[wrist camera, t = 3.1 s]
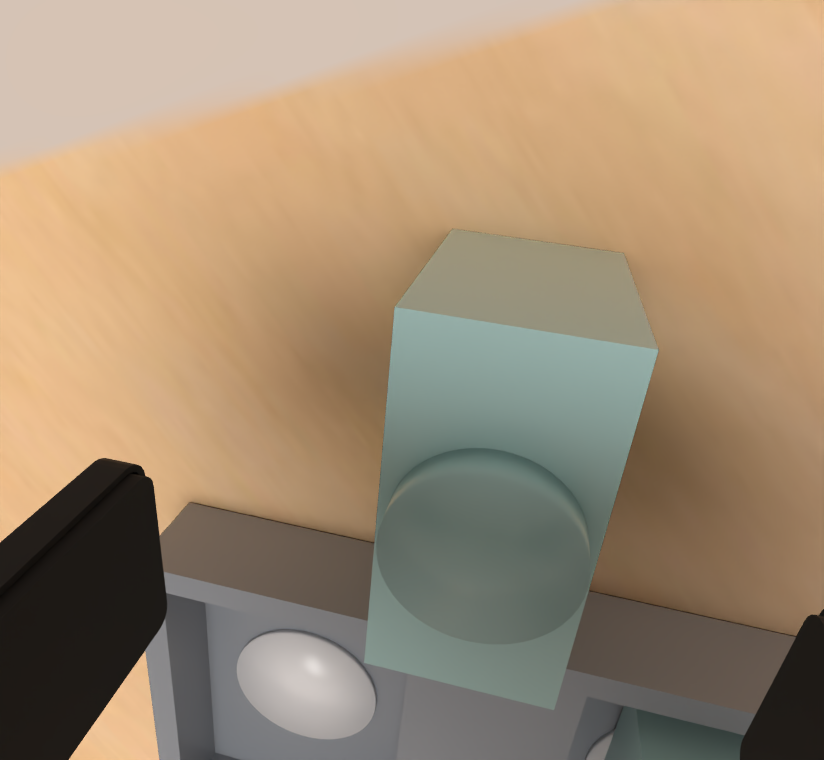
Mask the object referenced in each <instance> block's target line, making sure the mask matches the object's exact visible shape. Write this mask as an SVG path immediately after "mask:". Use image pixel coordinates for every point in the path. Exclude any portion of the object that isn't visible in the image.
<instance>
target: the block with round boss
mask: <svg viewBox="0 0 824 760" xmlns="http://www.w3.org/2000/svg"><path fill="white" fill-rule="evenodd" d="M658 351H659V349H658V347H657V344H656V341H655V338H654V335H653V333H652V330H651V327H650V324H649V322H648V319H647V316H646V313H645V310H644V308H643V305H642V302H641V299H640V297H639V294H638V291H637V288H636V286H635V283H634V280H633V277H632V274H631V272H630V269H629V266H628V263H627V261H626V258H625V255H624V253H620V252H613V251H606V250H599V249H592V248H585V247H578V246H571V245H564V244H557V243H550V242H543V241H536V240H529V239H522V238H514V237H507V236H500V235H493V234H486V233H479V232H472V231H465V230H458V229H452V230H451V231H450V233H449V234H448V235H447V237H446V238H445V240H444V241H443V242H442V244H441V245H440V246H439V248H438V249H437V250H436V252H435V253H434V254H433V256H432V257H431V259H430V260H429V261H428V263H427V264H426V265H425V267H424V268H423V269H422V271H421V272H420V273H419V275H418V276H417V277H416V279H415V280H414V282H413V283H412V284H411V286H410V287H409V288H408V290H407V291H406V292H405V294H404V295H403V296H402V298H401V299H400V301H399V302H398V303H397V305H396V306H395V309H394V321H393V333H392V344H391V356H390V368H389V379H388V391H387V403H386V414H385V426H384V438H383V449H382V461H381V472H380V484H379V496H378V507H377V519H376V531H375V542H374V554H373V566H372V577H371V589H370V600H369V612H368V624H367V635H366V647H365V659H364V663H367V664H371V665H375V666H379V667H383V668H387V669H391V670H395V671H399V672H403V673H407V674H411V675H415V676H419V677H423V678H427V679H431V680H435V681H439V682H443V683H447V684H451V685H455V686H459V687H463V688H467V689H471V690H475V691H479V692H483V693H487V694H491V695H495V696H499V697H503V698H507V699H511V700H515V701H519V702H523V703H527V704H531V705H535V706H539V707H543V708H547V709H551V710H554V709H555V705H556V702H557V699H558V695H559V692H560V688H561V685H562V681H563V678H564V674H565V671H566V668H567V664H568V661H569V657H570V654H571V650H572V647H573V643H574V640H575V637H576V633H577V630H578V626H579V623H580V619H581V616H582V612H583V609H584V606H585V602H586V599H587V595H588V592H589V588H590V585H591V581H592V578H593V575H594V571H595V568H596V564H597V561H598V557H599V554H600V550H601V547H602V544H603V540H604V537H605V533H606V530H607V526H608V523H609V519H610V516H611V513H612V509H613V506H614V502H615V499H616V495H617V492H618V488H619V485H620V482H621V478H622V475H623V471H624V468H625V464H626V461H627V458H628V454H629V451H630V447H631V444H632V440H633V437H634V433H635V430H636V427H637V423H638V420H639V416H640V413H641V409H642V406H643V402H644V399H645V396H646V392H647V389H648V385H649V382H650V378H651V375H652V371H653V368H654V365H655V361H656V358H657V354H658Z"/></svg>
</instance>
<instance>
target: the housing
mask: <svg viewBox="0 0 824 760" xmlns="http://www.w3.org/2000/svg"><path fill="white" fill-rule="evenodd" d="M159 537H160V545H161V554H162V562H163V571H164V579H165V587H166V596H167V613H166V617H165V620H164V622H163V624H162V626H161V628H160V630H159V631H158V633H157V634H156V636H155V637H154V638H153V640H152V641H151V643H150V644H149V646H148V647H147V648H146V650H145V651H146V659H147V667H148V675H149V682H150V690H151V698H152V706H153V713H154V721H155V729H156V736H157V744H158V752H159V760H740V747H741V743H742V740H743V737H744V736H745V734H746V732H747V730H748V728H749V726H750V724H751V722H752V720H753V718H754V716H755V715H756V713H757V711H758V709H759V707H760V705H761V703H762V701H763V699H764V697H765V696H766V694H767V692H768V690H769V688H770V686H771V684H772V682H773V680H774V678H775V676H776V675H777V673H778V671H779V669H780V667H781V665H782V663H783V661H784V659H785V657H786V655H787V654H788V652H789V650H790V648H791V646H792V644H793V642H794V640H795V638H796V637H794V636H789V635H785V634H780V633H776V632H771V631H767V630H762V629H758V628H753V627H749V626H744V625H740V624H735V623H731V622H726V621H722V620H717V619H713V618H708V617H704V616H699V615H695V614H690V613H686V612H681V611H677V610H672V609H667V608H663V607H658V606H654V605H649V604H645V603H640V602H636V601H631V600H627V599H622V598H618V597H613V596H609V595H604V594H600V593H595V592H591V591H589V592H588V595H587V599H586V602H585V606H584V609H583V612H582V616H581V619H580V623H579V626H578V630H577V633H576V637H575V640H574V643H573V647H572V650H571V654H570V657H569V661H568V664H567V668H566V671H565V674H564V678H563V681H562V685H561V688H560V692H559V695H558V699H557V702H556V705H555V709H554V710H551V709H547V708H543V707H539V706H535V705H531V704H527V703H523V702H519V701H515V700H511V699H507V698H503V697H499V696H495V695H491V694H487V693H483V692H479V691H475V690H471V689H467V688H463V687H459V686H455V685H451V684H447V683H443V682H439V681H435V680H431V679H427V678H423V677H419V676H415V675H411V674H407V673H403V672H399V671H395V670H391V669H387V668H383V667H379V666H375V665H371V664H367V663H364V659H365V647H366V635H367V624H368V612H369V600H370V589H371V577H372V566H373V554H374V543H370V542H365V541H361V540H356V539H352V538H347V537H343V536H338V535H334V534H329V533H325V532H320V531H316V530H311V529H307V528H302V527H298V526H293V525H289V524H284V523H280V522H275V521H271V520H266V519H262V518H257V517H253V516H248V515H244V514H239V513H235V512H230V511H226V510H221V509H217V508H212V507H208V506H203V505H199V504H194V503H189V504H188V505H187V506H186V507H185V508H184V509H183V510H182V511H181V513H180V514H179V515H178V516H177V517H176V518H175V519H174V520H173V522H172V523H171V524H170V525H169V526H168V527H167V528H166V529H165V531H164V532H163V533H162V534H161V535H160V536H159Z"/></svg>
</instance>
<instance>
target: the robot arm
mask: <svg viewBox="0 0 824 760" xmlns="http://www.w3.org/2000/svg"><path fill="white" fill-rule="evenodd" d="M166 613H167V596H166V587H165V579H164V571H163V562H162V554H161V545H160V537H159V528H158V520H157V511H156V503H155V494H154V486H153V482H152V480H151V478H149V477H146V476H145V473H144V470H143V469H142V467H141V466H139V465H136V464H131V463H126V462H121V461H116V460H112V459H107V458H102V459H98V460H97V461H95V462H94V463H92V464H91V465H90V466H89V467H88V468H87V469H85V470H84V471H83V472H82V473H81V474H80V475H78V476H77V477H76V478H75V479H74V480H73V481H71V482H70V483H69V484H68V485H67V486H66V487H64V488H63V489H62V490H61V491H60V492H59V493H57V494H56V495H55V496H54V497H53V498H52V499H50V500H49V501H48V502H47V503H46V504H45V505H43V506H42V507H41V508H40V509H39V510H38V511H36V512H35V513H34V514H33V515H32V516H31V517H29V518H28V519H27V520H26V521H25V522H24V523H22V524H21V525H20V526H19V527H18V528H17V529H15V530H14V531H13V532H12V533H11V534H10V535H8V536H7V537H6V538H5V539H4V540H3V541H1V542H0V760H69V758H70V757H71V755H72V754H73V752H74V751H75V750H76V748H77V747H78V745H79V744H80V742H81V741H82V740H83V738H84V737H85V735H86V734H87V732H88V731H89V730H90V728H91V727H92V725H93V724H94V722H95V721H96V720H97V718H98V717H99V715H100V714H101V713H102V711H103V710H104V708H105V707H106V705H107V704H108V703H109V701H110V700H111V698H112V697H113V695H114V694H115V693H116V691H117V690H118V688H119V687H120V685H121V684H122V683H123V681H124V680H125V678H126V677H127V675H128V674H129V673H130V671H131V670H132V668H133V667H134V665H135V664H136V663H137V661H138V660H139V658H140V657H141V656H142V654H143V653H144V651H145V650H146V648H147V647H148V646H149V644H150V643H151V641H152V640H153V638H154V637H155V636H156V634H157V633H158V631H159V630H160V628H161V626H162V624H163V622H164V620H165V617H166ZM740 760H824V609H823V610H822V612H821V613H820V614H819V616H818V615H810V616H808V617H807V618H806V620H805V621H804V623H803V625H802V627H801V629H800V631H799V633H798V634H797V636H796V638H795V640H794V642H793V644H792V646H791V648H790V650H789V652H788V654H787V655H786V657H785V659H784V661H783V663H782V665H781V667H780V669H779V671H778V673H777V675H776V676H775V678H774V680H773V682H772V684H771V686H770V688H769V690H768V692H767V694H766V696H765V697H764V699H763V701H762V703H761V705H760V707H759V709H758V711H757V713H756V715H755V716H754V718H753V720H752V722H751V724H750V726H749V728H748V730H747V732H746V734H745V736H744V737H743V740H742V743H741V747H740Z"/></svg>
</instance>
